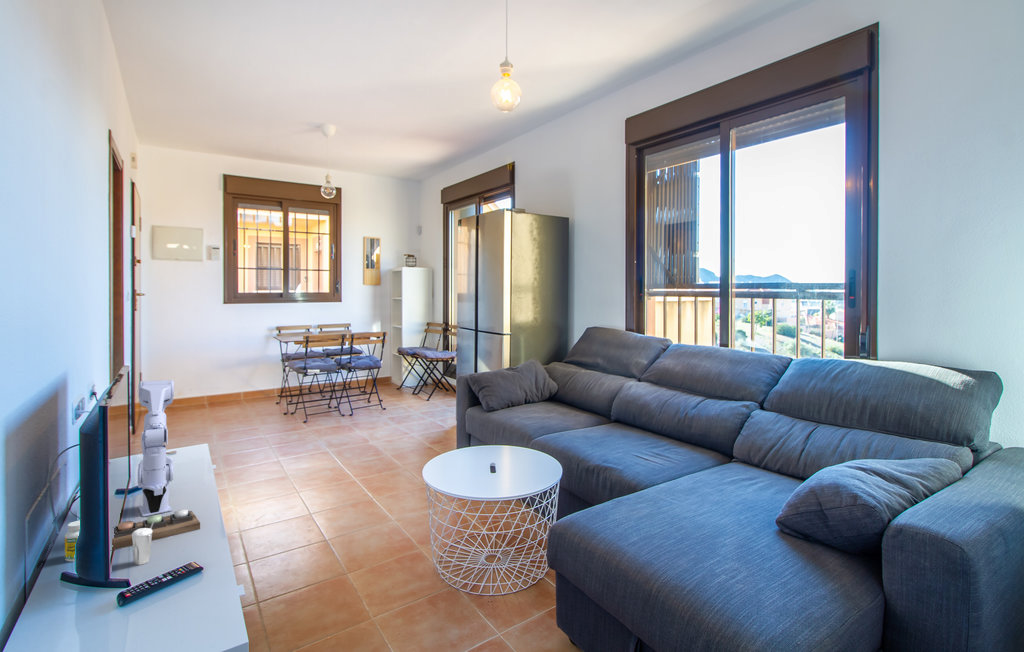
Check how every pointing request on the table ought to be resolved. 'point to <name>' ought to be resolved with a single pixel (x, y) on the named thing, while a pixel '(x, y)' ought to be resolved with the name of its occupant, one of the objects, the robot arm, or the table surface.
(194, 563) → the table surface
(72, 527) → the supplement bottle
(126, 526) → the terracotta button
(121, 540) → the button board
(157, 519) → the sage button
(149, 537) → the milkshake
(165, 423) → the robot arm
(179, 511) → the grey button
